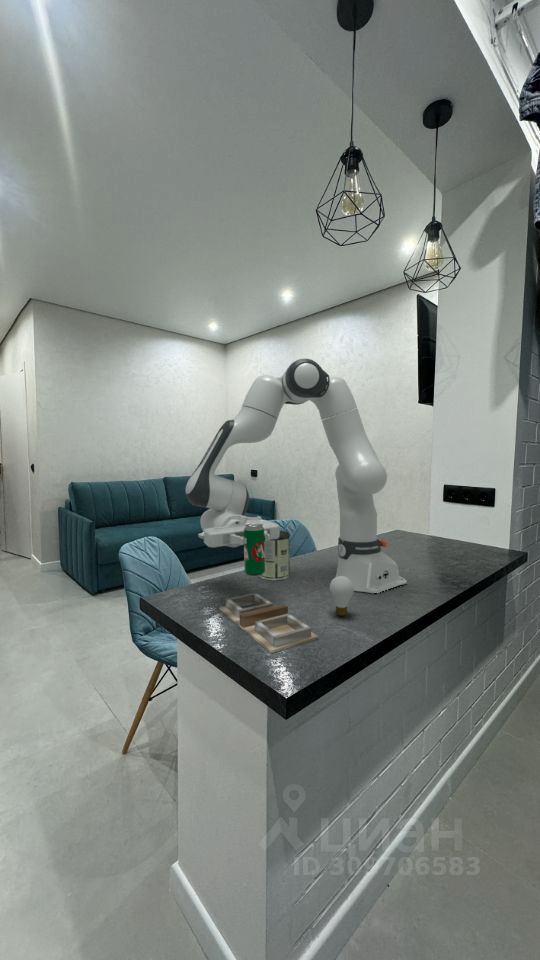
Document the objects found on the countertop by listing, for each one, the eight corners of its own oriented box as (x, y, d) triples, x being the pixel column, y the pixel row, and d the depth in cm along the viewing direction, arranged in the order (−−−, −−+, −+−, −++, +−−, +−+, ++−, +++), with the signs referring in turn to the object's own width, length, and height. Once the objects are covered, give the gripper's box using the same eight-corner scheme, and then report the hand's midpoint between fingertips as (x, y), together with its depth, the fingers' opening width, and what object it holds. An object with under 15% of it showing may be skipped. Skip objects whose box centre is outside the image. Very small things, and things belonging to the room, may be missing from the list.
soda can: (245, 570, 99) (244, 523, 99) (265, 570, 99) (264, 523, 99) (243, 576, 94) (242, 526, 94) (264, 576, 94) (263, 526, 94)
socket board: (219, 609, 101) (219, 597, 101) (259, 600, 107) (259, 589, 107) (270, 653, 79) (270, 638, 79) (318, 639, 85) (318, 625, 85)
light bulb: (331, 610, 101) (331, 571, 100) (354, 612, 99) (354, 574, 99) (327, 619, 95) (328, 579, 95) (352, 622, 94) (352, 581, 93)
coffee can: (266, 569, 136) (266, 529, 135) (294, 573, 132) (294, 531, 131) (253, 578, 127) (252, 535, 126) (282, 582, 123) (282, 538, 122)
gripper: (195, 522, 102) (216, 531, 90) (264, 515, 112) (290, 523, 100) (196, 546, 102) (216, 558, 90) (264, 537, 113) (290, 547, 101)
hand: (256, 539), depth 95 cm, fingers closed on soda can, 5 cm apart
